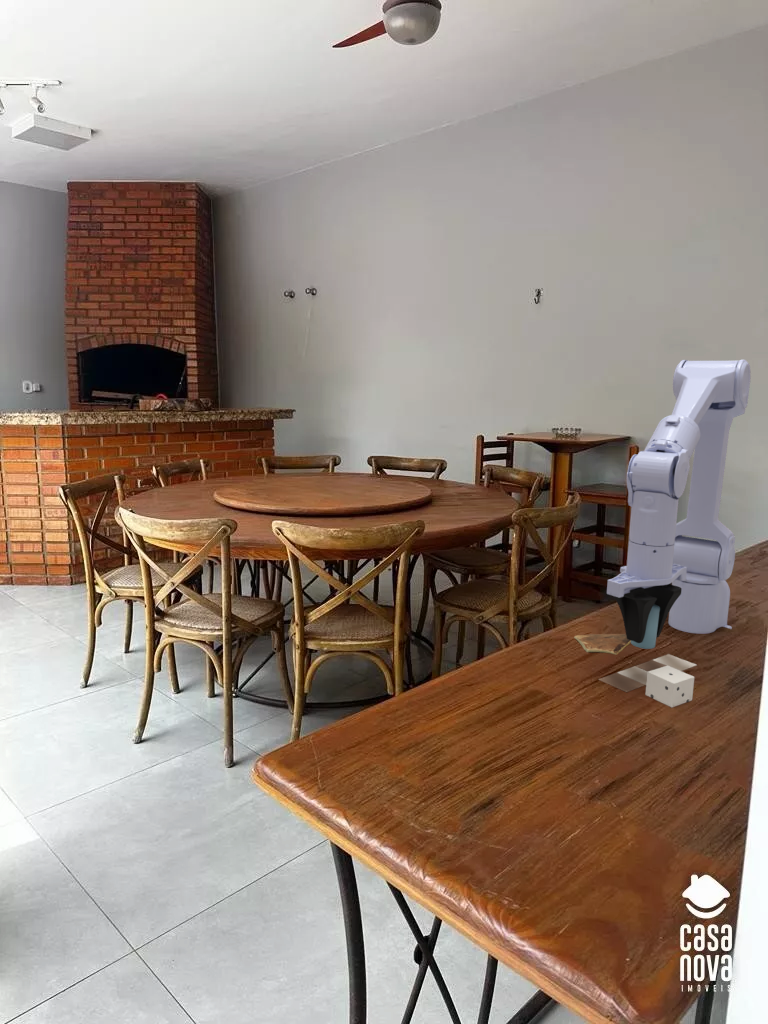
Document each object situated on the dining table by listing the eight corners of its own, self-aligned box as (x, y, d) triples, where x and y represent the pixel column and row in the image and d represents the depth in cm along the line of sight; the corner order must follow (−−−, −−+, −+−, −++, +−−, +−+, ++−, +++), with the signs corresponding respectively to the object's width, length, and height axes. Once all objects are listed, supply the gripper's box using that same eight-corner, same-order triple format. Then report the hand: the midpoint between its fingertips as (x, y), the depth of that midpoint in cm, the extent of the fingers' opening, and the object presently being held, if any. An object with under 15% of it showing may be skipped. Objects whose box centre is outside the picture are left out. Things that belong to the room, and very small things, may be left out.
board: (667, 657, 103) (667, 653, 103) (698, 669, 99) (698, 665, 99) (596, 683, 94) (596, 678, 94) (627, 697, 90) (627, 692, 90)
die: (665, 693, 92) (667, 664, 91) (692, 706, 88) (695, 676, 87) (644, 700, 90) (647, 671, 89) (671, 713, 86) (674, 683, 85)
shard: (638, 641, 110) (638, 631, 110) (659, 661, 103) (660, 649, 103) (571, 643, 110) (572, 632, 110) (588, 662, 102) (589, 651, 102)
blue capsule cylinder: (642, 637, 96) (647, 600, 95) (660, 646, 94) (665, 608, 92) (625, 641, 95) (629, 603, 94) (642, 650, 92) (647, 611, 91)
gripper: (658, 529, 99) (650, 619, 101) (591, 542, 91) (584, 639, 93) (704, 539, 93) (694, 633, 96) (636, 553, 85) (628, 656, 88)
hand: (643, 637), depth 94 cm, fingers closed on blue capsule cylinder, 3 cm apart
